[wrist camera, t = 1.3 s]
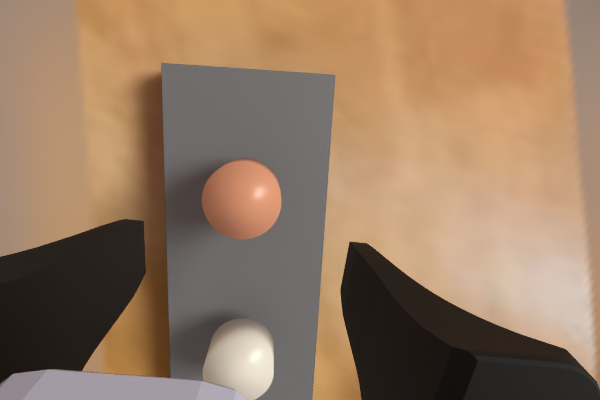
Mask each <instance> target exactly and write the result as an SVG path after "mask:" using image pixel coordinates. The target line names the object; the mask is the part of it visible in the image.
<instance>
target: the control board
mask: <svg viewBox="0 0 600 400" xmlns="http://www.w3.org/2000/svg"><path fill="white" fill-rule="evenodd" d="M161 71H162V105H163V138H164V172H165V206H166V240H167V274H168V307H169V341H170V375H171V378H179V379H192V380H203V367H204V363H205V360H206V356H207V353H208V349H209V346H210V343H211V339H212V337H213V335H214V333H215V331H216V330H217V329H218V328H219V327H220V326H221V325H223V324H224V323H226V322H228V321H230V320H234V319H240V318H245V319H251V320H255V321H257V322H259V323H261V324H262V325H264V326H265V327H266V328H267V329H268V331H269V332H270V334H271V336H272V338H273V343H274V375H273V380H272V383H271V385H270V387H269V388H268V389H267V391H266V392H265V393H264V394H263V395H261V396H260V397H258V398H257V399H255V400H312V396H313V382H314V368H315V353H316V339H317V325H318V311H319V297H320V283H321V269H322V255H323V241H324V227H325V212H326V198H327V184H328V170H329V156H330V142H331V128H332V114H333V100H334V86H335V75H329V74H314V73H299V72H285V71H270V70H256V69H241V68H227V67H212V66H198V65H183V64H168V63H161ZM239 158H250V159H255V160H258V161H260V162H262V163H264V164H265V165H267V166H268V167H269V168H270V169H271V170H272V171H273V172H274V174H275V175H276V177H277V179H278V181H279V185H280V191H281V210H280V213H279V216H278V218H277V220H276V222H275V223H274V224H273V226H272V227H271V228H270V229H269V230H268V231H266V232H265V233H263V234H262V235H260V236H257V237H254V238H251V239H234V238H230V237H227V236H225V235H223V234H221V233H220V232H218V231H217V230H216V229H215V228H213V226H212V225H211V224H210V223H209V221H208V220H207V218H206V216H205V214H204V211H203V207H202V193H203V189H204V186H205V184H206V182H207V180H208V179H209V178H210V176H211V175H212V174H213V173H214V172H215V171H217V170H218V169H219V168H220V167H222V166H223V165H224V164H226V163H228V162H230V161H232V160H235V159H239Z"/></svg>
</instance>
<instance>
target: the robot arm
mask: <svg viewBox="0 0 600 400" xmlns="http://www.w3.org/2000/svg"><path fill="white" fill-rule="evenodd" d="M145 273H146V266H145V243H144V221H138V220H129V219H124V220H119V221H115V222H112V223H109V224H106V225H103V226H100V227H97V228H94V229H91V230H88V231H85V232H83V233H80V234H77V235H74V236H71V237H68V238H65V239H62V240H59V241H55V242H52V243H49V244H46V245H43V246H40V247H36V248H33V249H29V250H26V251H22V252H18V253H14V254H10V255H6V256H2V257H0V400H246V399H245V398H244V397H243V396H242V395H241V394H239V393H238V392H237V391H236V390H235V389H233V388H229V387H226V386H222V385H219V384H215V383H211V382H208V381H204V380H192V379H179V378H165V377H152V376H139V375H125V374H112V373H99V372H85V371H82V370H83V368H84V366H85V364H86V363H87V361H88V360H89V358H90V357H91V355H92V354H93V352H94V351H95V349H96V348H97V346H98V345H99V344H100V342H101V341H102V340H103V338H104V337H105V335H106V334H107V333H108V331H109V330H110V329H111V327H112V326H113V324H114V323H115V322H116V320H117V319H118V318H119V316H120V315H121V313H122V312H123V311H124V309H125V308H126V306H127V305H128V303H129V302H130V301H131V299H132V298H133V296H134V294H135V293H136V291H137V289H138V287H139V285H140V283H141V281H142V279H143V277H144V275H145ZM340 291H341V302H342V311H343V317H344V321H345V325H346V329H347V334H348V338H349V341H350V345H351V349H352V353H353V357H354V361H355V365H356V369H357V374H358V379H359V384H360V391H361V398H362V400H600V389H599V387H598V384H597V381H596V380H595V379H594V378H593V377H592V376H591V375H590V374H589V373H588V372H587V371H586V370H585V369H584V368H583V367H582V366H581V365H580V364H579V363H578V361H577V360H576V359H575V358H574V357H573V356H572V355H571V354H570V353H569V352H568V351H567V350H566V349H563V348H560V347H557V346H554V345H551V344H548V343H545V342H542V341H539V340H536V339H533V338H530V337H527V336H524V335H521V334H518V333H515V332H513V331H510V330H508V329H505V328H503V327H500V326H498V325H495V324H493V323H491V322H488V321H486V320H484V319H481V318H479V317H477V316H475V315H473V314H471V313H469V312H467V311H465V310H463V309H461V308H459V307H457V306H455V305H453V304H451V303H449V302H448V301H446V300H444V299H442V298H441V297H439V296H437V295H436V294H434V293H432V292H431V291H429V290H428V289H426V288H424V287H423V286H422V285H420V284H419V283H417V282H416V281H414V280H413V279H412V278H410V277H409V276H408V275H406V274H405V273H404V272H402V271H401V270H400V269H398V268H397V267H396V266H395V265H393V264H392V263H391V262H390V261H389V260H387V259H386V258H385V257H384V256H382V255H381V254H380V253H379V252H378V251H376V250H375V249H374V248H373V247H371V246H370V245H368V244H367V243H358V242H350V243H349V248H348V253H347V259H346V264H345V269H344V274H343V280H342V285H341V290H340Z"/></svg>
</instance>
